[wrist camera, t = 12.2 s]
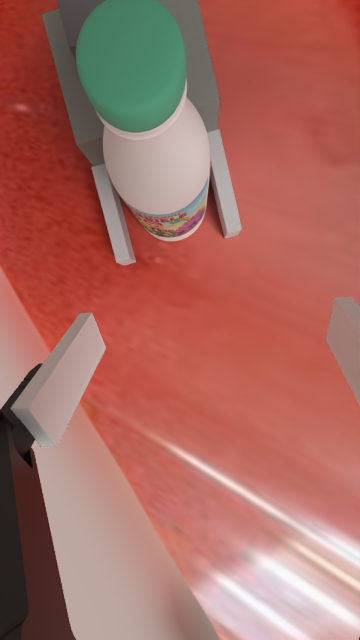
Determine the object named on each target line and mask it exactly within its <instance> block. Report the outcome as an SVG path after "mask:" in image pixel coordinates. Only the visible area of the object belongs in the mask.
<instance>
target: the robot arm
mask: <svg viewBox="0 0 360 640" xmlns="http://www.w3.org/2000/svg"><path fill="white" fill-rule="evenodd" d="M326 342H327V343H328V345H329V347H330V349H331V351H332V353H333V355H334V357H335V359H336V361H337V363H338V365H339V367H340V369H341V370H342V372H343V374H344V376H345V378H346V380H347V382H348V384H349V386H350V388H351V390H352V392H353V394H354V396H355V398H356V399H357V401H358V403H359V405H360V307H359V305H358V304H357V303H356V302H355V300H354V299H353V298H352V297H336V298H335V299H334V303H333V308H332V313H331V317H330V322H329V327H328V332H327V336H326ZM105 349H106V347H105V344H104V342H103V339H102V337H101V334H100V332H99V329H98V327H97V324H96V321H95V319H94V316H93V314H92V313H80V314H79V315H78V317H77V318H76V319H75V321H74V322H73V324H72V325H71V326H70V328H69V329H68V330H67V332H66V333H65V334H64V336H63V337H62V339H61V340H60V341H59V343H58V344H57V345H56V347H55V348H54V349H53V351H52V352H51V354H50V355H49V356H48V358H47V359H46V361H45V362H44V363H43V364H38V365H37V366H36V367H35V368H33V369H32V370H31V371H30V372H29V373H28V374H27V376H26V377H25V378H24V381H22V382H21V384H20V385H19V386H18V388H17V389H16V390H15V391H14V393H13V394H12V395H11V396H10V398H9V399H8V401H7V402H6V403H5V404H4V406H3V407H2V408H1V410H0V640H76V639H75V637H74V635H73V633H72V630H71V627H70V623H69V618H68V613H67V609H66V604H65V599H64V594H63V590H62V584H61V580H60V575H59V570H58V565H57V560H56V555H55V551H54V546H53V541H52V536H51V532H50V527H49V522H48V517H47V512H46V507H45V503H44V498H43V493H42V488H41V484H40V479H39V474H38V469H37V464H36V459H35V455H34V451H33V449H32V448H31V446H32V444H33V442H34V441H35V440H36V441H37V442H38V444H39V445H40V447H54V448H56V447H57V445H58V443H59V441H60V439H61V437H62V435H63V433H64V431H65V429H66V427H67V425H68V423H69V421H70V419H71V417H72V415H73V413H74V411H75V409H76V407H77V405H78V403H79V401H80V399H81V397H82V395H83V393H84V391H85V389H86V387H87V385H88V383H89V381H90V379H91V377H92V375H93V373H94V371H95V369H96V367H97V365H98V363H99V361H100V359H101V357H102V355H103V353H104V351H105ZM359 640H360V637H359Z"/></svg>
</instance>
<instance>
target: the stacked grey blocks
mask: <svg viewBox="0 0 360 640" xmlns="http://www.w3.org/2000/svg"><path fill="white" fill-rule="evenodd" d="M104 1H106V0H57V3H58V7H59V8H57V9H55V10H52V11H49V12H46V13H43V14H41V15H42V19H43V23H44V26H45V30H46V34H47V37H48V41H49V45H50V49H51V52H52V56H53V60H54V64H55V67H56V71H57V75H58V79H59V82H60V86H61V90H62V93H63V97H64V101H65V105H66V108H67V112H68V116H69V120H70V123H71V127H72V131H73V135H74V138H75V142H76V145H77V147H78V148H79V149H80V150H81V152H82V153H83V154H84V155H85V157H86V158H87V159H88V160H89V162H90V163H91V164H92V165H93V167H91V168H92V172H93V176H94V180H95V183H96V187H97V191H98V195H99V198H100V202H101V206H102V210H103V213H104V217H105V221H106V225H107V229H108V232H109V236H110V240H111V244H112V247H113V251H114V255H115V259H116V262H117V263H119V264H122V265H128V264H132V263H135V262H136V259H135V256H134V252H133V248H132V244H131V240H130V236H129V232H128V229H127V225H126V221H125V217H124V213H123V209H122V205H121V202H120V198H119V194H118V192H117V190H116V189H115V187H114V185H113V183H112V181H111V179H110V176H109V174H108V171H107V168H106V164H105V160H104V154H103V133H104V126H105V125H104V124H103V122H102V121H101V120H100V118H99V116H98V115H97V113H96V110H95V108H94V107H93V105H92V104H91V102H90V100H89V99H88V97H87V95H86V92H85V90H84V88H83V86H82V84H81V81H80V78H79V74H78V70H77V64H76V45H77V40H78V36H79V33H80V30H81V28H82V26H83V24H84V22H85V20H86V19H87V17H88V16H89V15H90V13H91V12H92V11H93V10H94V9H95V8H96V7H97V6H98V5H100V4H101V3H102V2H104ZM156 1H158V2H159V3H161V4H162V5H163V6H164V7H165V8H167V10H168V11H169V12H170V13H171V14H172V16H173V17H174V19H175V21H176V22H177V24H178V27H179V29H180V32H181V35H182V38H183V41H184V47H185V55H186V80H187V94H186V97H187V98H188V99H189V100H190V101H191V103H192V104H193V105H194V107H195V108H196V109H197V111H198V113H199V114H200V116H201V118H202V120H203V123H204V125H205V128H206V131H207V135H208V139H209V146H210V179H211V183H212V188H213V192H214V196H215V201H216V205H217V209H218V214H219V218H220V222H221V226H222V231H223V235H224V239H226V238H229V237H233V236H237V235H238V234H239V232H240V231H241V229H242V228H241V223H240V219H239V214H238V210H237V205H236V201H235V197H234V192H233V188H232V183H231V179H230V174H229V170H228V166H227V161H226V157H225V152H224V148H223V144H222V139H221V135H220V130H219V129H218V130H217V124H218V116H219V108H220V97H219V93H218V88H217V84H216V79H215V75H214V70H213V66H212V61H211V57H210V53H209V48H208V44H207V39H206V35H205V30H204V26H203V21H202V17H201V12H200V8H199V3H198V0H156Z"/></svg>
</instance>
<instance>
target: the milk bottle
mask: <svg viewBox="0 0 360 640" xmlns="http://www.w3.org/2000/svg"><path fill="white" fill-rule="evenodd" d="M76 64H77V70H78V74H79V78H80V81H81V84H82V86H83V88H84V90H85V92H86V95H87V97H88V99H89V100H90V102H91V104H92V105H93V107H94V108H95V110H96V113H97V115H98V116H99V118H100V120H101V121H102V122H103V124H104V125H105V126H104V133H103V154H104V160H105V164H106V168H107V171H108V174H109V176H110V179H111V181H112V183H113V185H114V187H115V189H116V190H117V192H118V193H119V195H120V196H121V198H122V199H123V201H124V202H125V203H126V205H127V206H128V208H129V209H130V210H131V212H132V213H133V214H134V215H135V217H136V218H137V219H138V221H139V222H140V223H141V224H142V226H143V227H144V228H145V229H146V230H147V231H148V232H149V233H150V234H151V235H153V236H154V237H156V238H158V239H160V240H164V241H179V240H182V239H185V238H187V237H188V236H190V235H191V234H193V233H194V232H195V231H196V230H197V229H198V227H199V226H200V224H201V223H202V221H203V218H204V215H205V211H206V204H207V196H208V187H209V177H210V146H209V139H208V135H207V131H206V128H205V125H204V123H203V120H202V118H201V116H200V114H199V113H198V111H197V109H196V108H195V107H194V105H193V104H192V103H191V101H190V100H189V99H188V98H187V97H186V94H187V80H186V55H185V47H184V41H183V38H182V35H181V32H180V29H179V27H178V24H177V22H176V21H175V19H174V17H173V16H172V14H171V13H170V12H169V11H168V10H167V8H165V7H164V6H163V5H162V4H161V3H159V2H158V1H156V0H106V1H104V2H102V3H101V4H100V5H98V6H97V7H96V8H95V9H94V10H93V11H92V12H91V13H90V15H89V16H88V17H87V19H86V20H85V22H84V24H83V26H82V28H81V30H80V33H79V36H78V40H77V45H76Z"/></svg>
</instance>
